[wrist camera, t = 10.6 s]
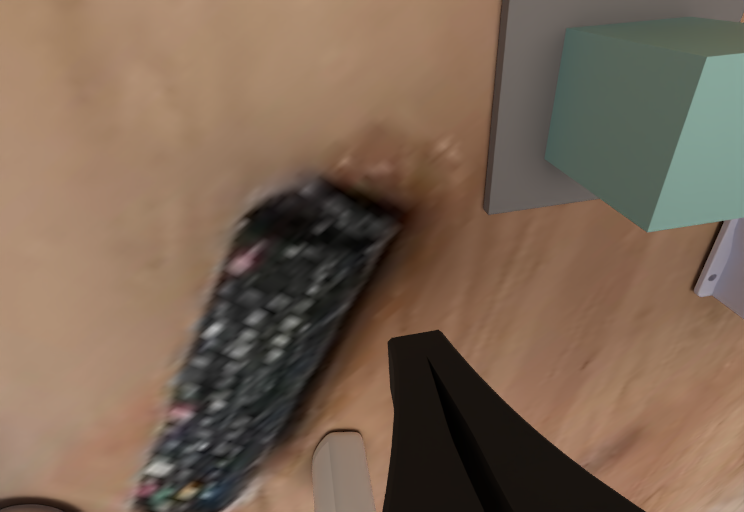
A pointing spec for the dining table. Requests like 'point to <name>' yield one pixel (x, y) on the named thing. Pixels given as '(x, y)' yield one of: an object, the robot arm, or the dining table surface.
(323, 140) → the dining table surface
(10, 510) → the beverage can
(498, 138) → the base
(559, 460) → the robot arm
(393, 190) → the dining table surface
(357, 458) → the eye dropper bottle
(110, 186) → the dining table surface
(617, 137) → the upright teal cuboid
